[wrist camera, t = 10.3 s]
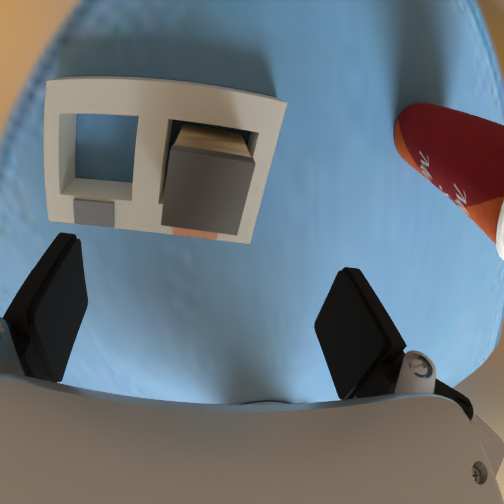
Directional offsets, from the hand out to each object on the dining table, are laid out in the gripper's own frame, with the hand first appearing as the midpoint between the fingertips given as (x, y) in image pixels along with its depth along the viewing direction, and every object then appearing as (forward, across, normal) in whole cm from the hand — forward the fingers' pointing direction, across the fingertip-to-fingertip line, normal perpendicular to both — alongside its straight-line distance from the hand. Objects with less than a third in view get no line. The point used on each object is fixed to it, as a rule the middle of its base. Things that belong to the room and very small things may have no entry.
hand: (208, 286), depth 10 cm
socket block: (+13, +4, -1) cm, 13 cm away
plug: (+13, 0, -1) cm, 13 cm away
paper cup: (+13, -16, -7) cm, 22 cm away
